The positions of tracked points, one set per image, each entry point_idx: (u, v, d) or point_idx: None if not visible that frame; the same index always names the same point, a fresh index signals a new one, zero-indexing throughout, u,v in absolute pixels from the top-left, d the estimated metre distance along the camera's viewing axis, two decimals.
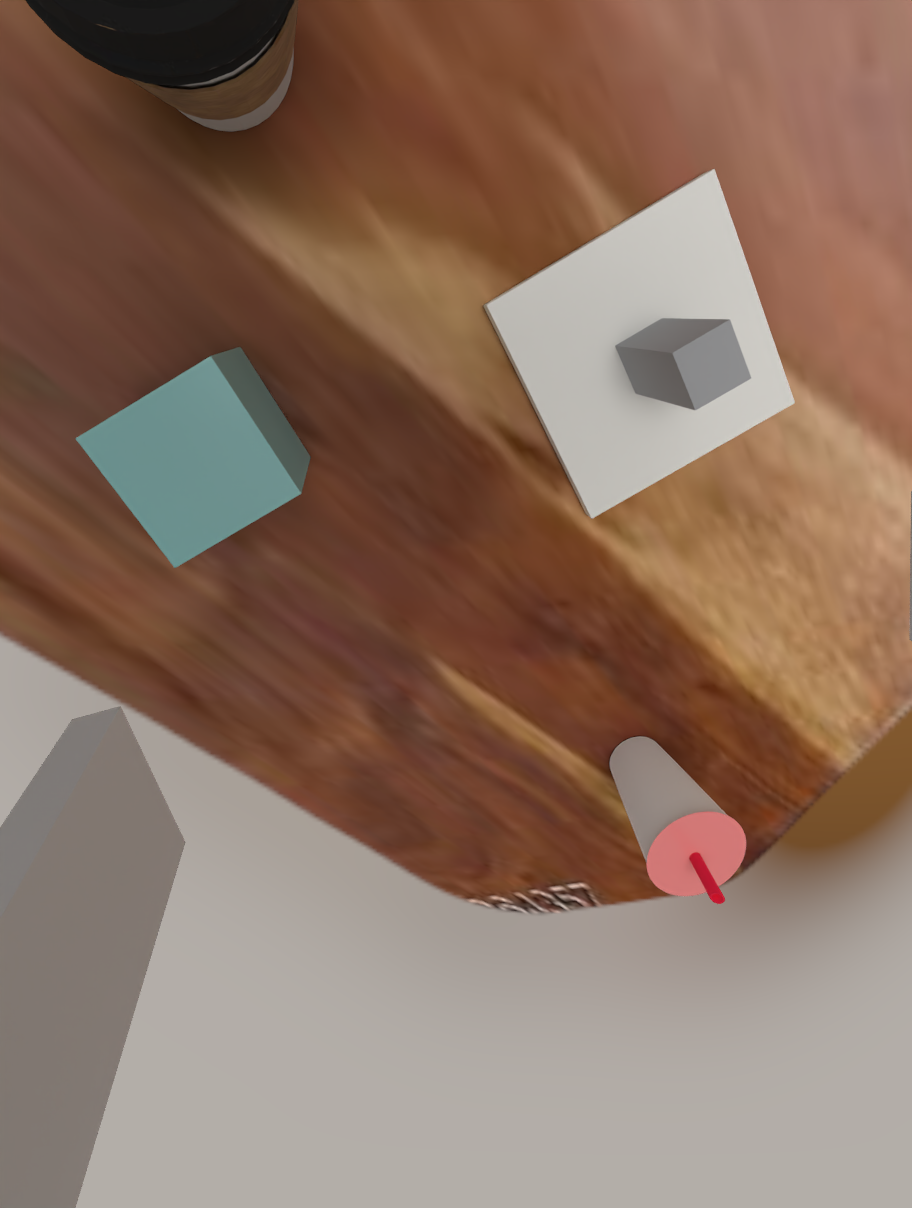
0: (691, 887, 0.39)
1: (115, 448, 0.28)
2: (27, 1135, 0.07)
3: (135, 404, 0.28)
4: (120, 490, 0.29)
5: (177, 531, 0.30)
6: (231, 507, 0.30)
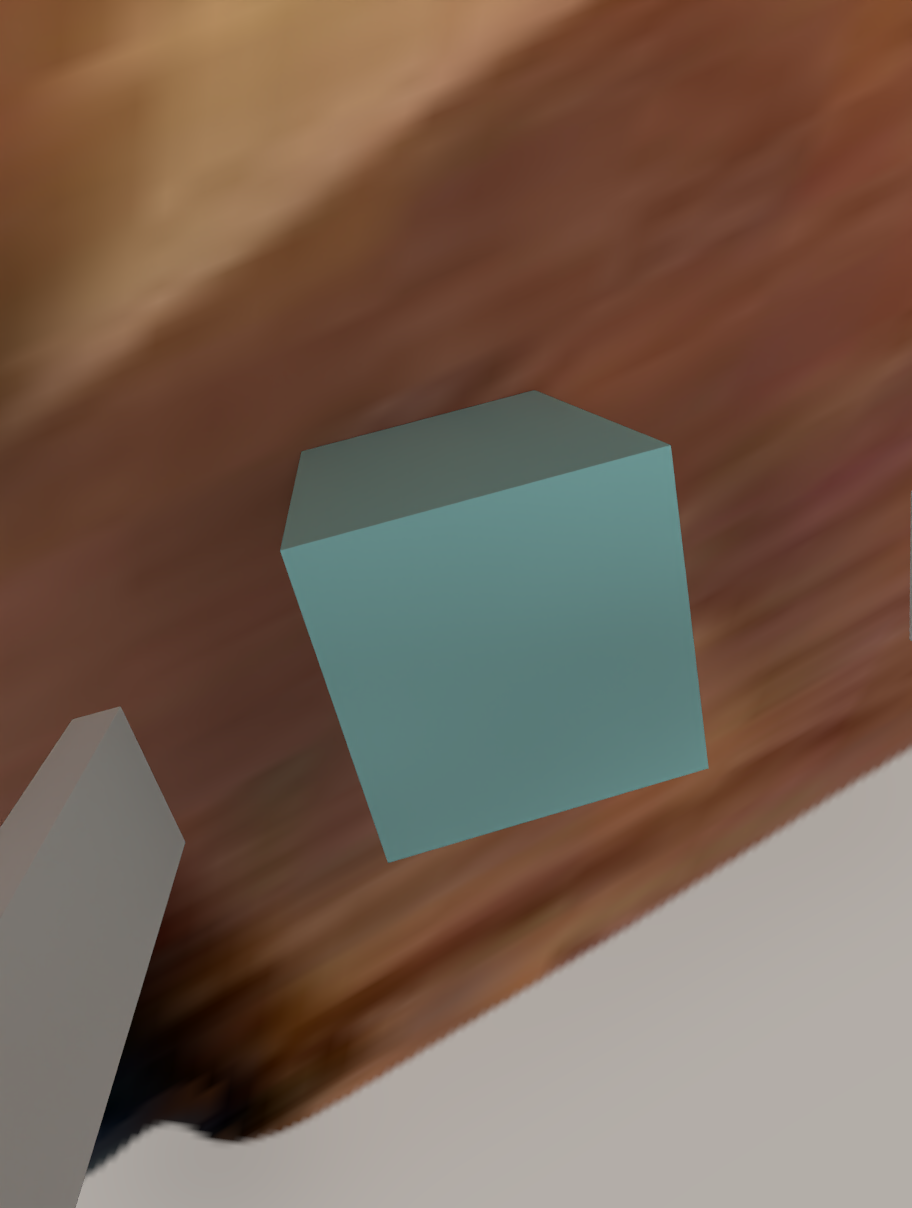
0: None
1: (429, 802, 0.13)
2: (27, 1135, 0.07)
3: (350, 739, 0.12)
4: (515, 817, 0.13)
5: (639, 741, 0.13)
6: (636, 618, 0.12)
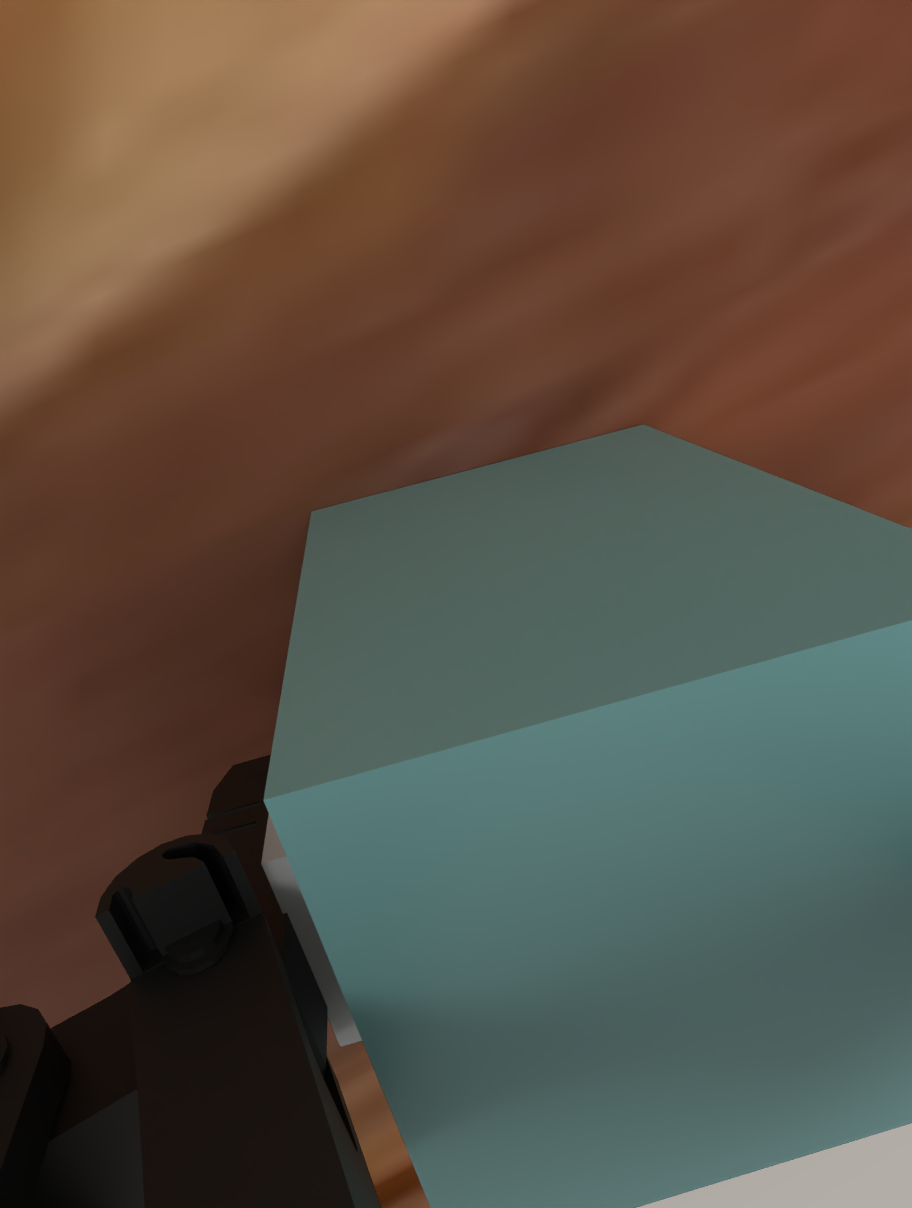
0: None
1: (530, 1176, 0.07)
2: None
3: (395, 1098, 0.07)
4: (674, 1185, 0.08)
5: (896, 1066, 0.07)
6: None
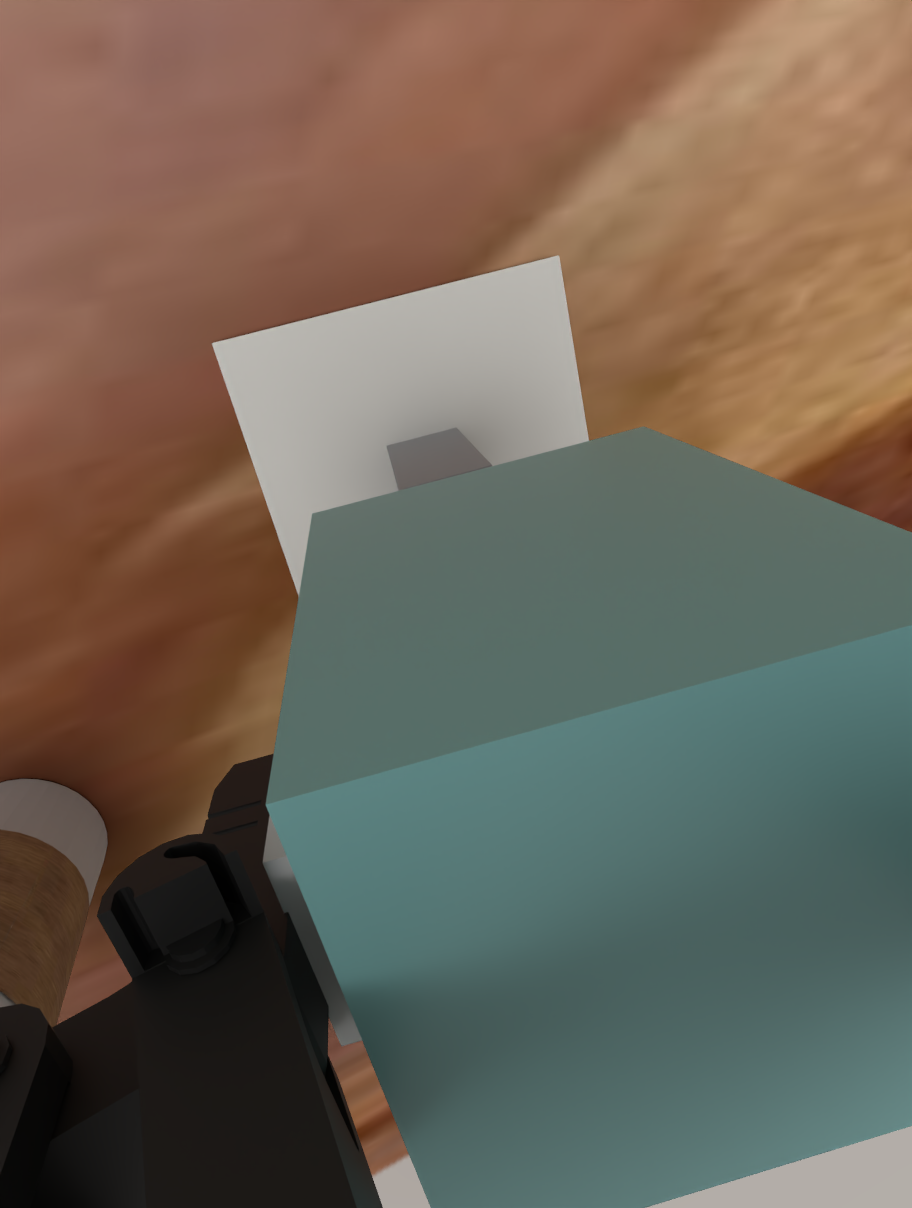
0: None
1: (531, 1179, 0.07)
2: None
3: (396, 1101, 0.07)
4: (674, 1187, 0.08)
5: (896, 1069, 0.07)
6: None
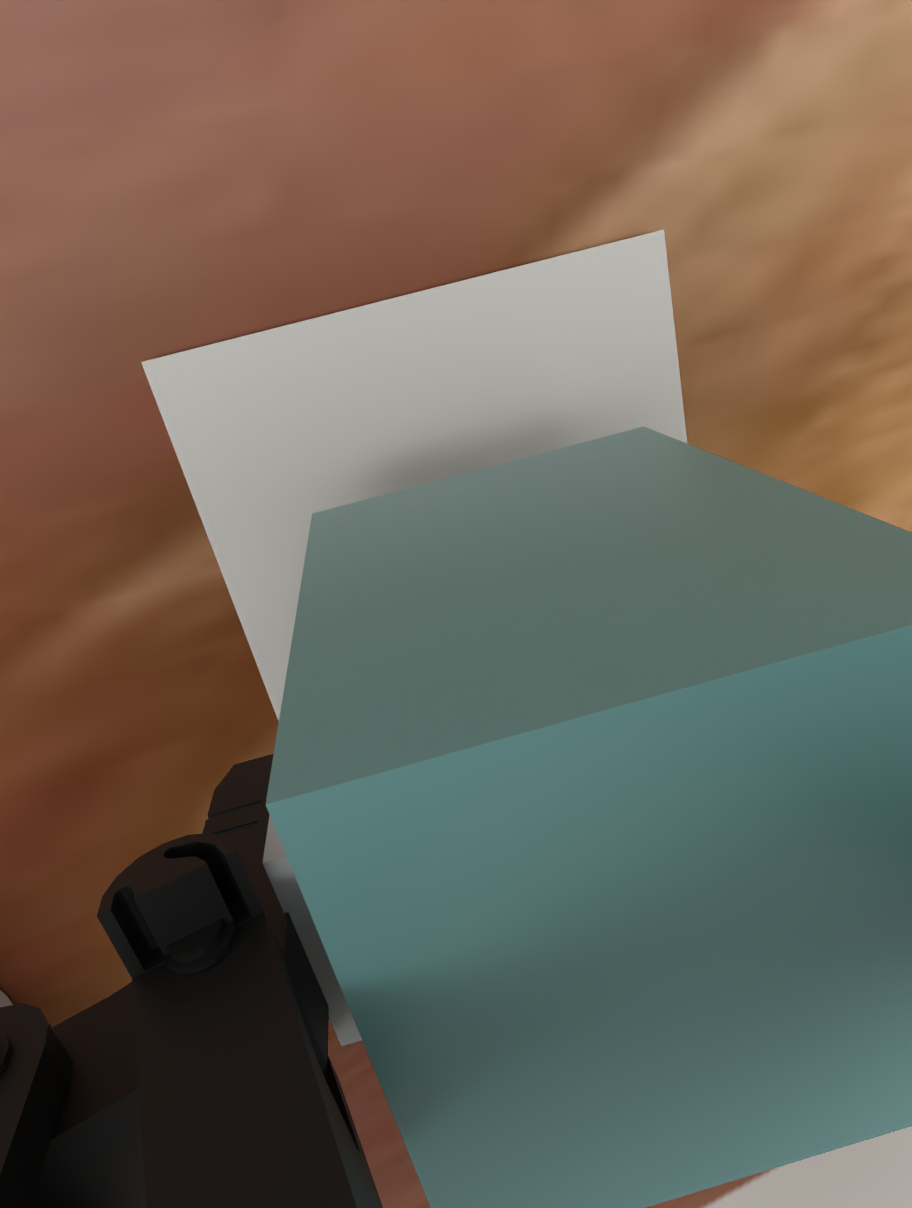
0: None
1: (531, 1179, 0.07)
2: None
3: (396, 1101, 0.07)
4: (674, 1187, 0.08)
5: (896, 1069, 0.07)
6: None
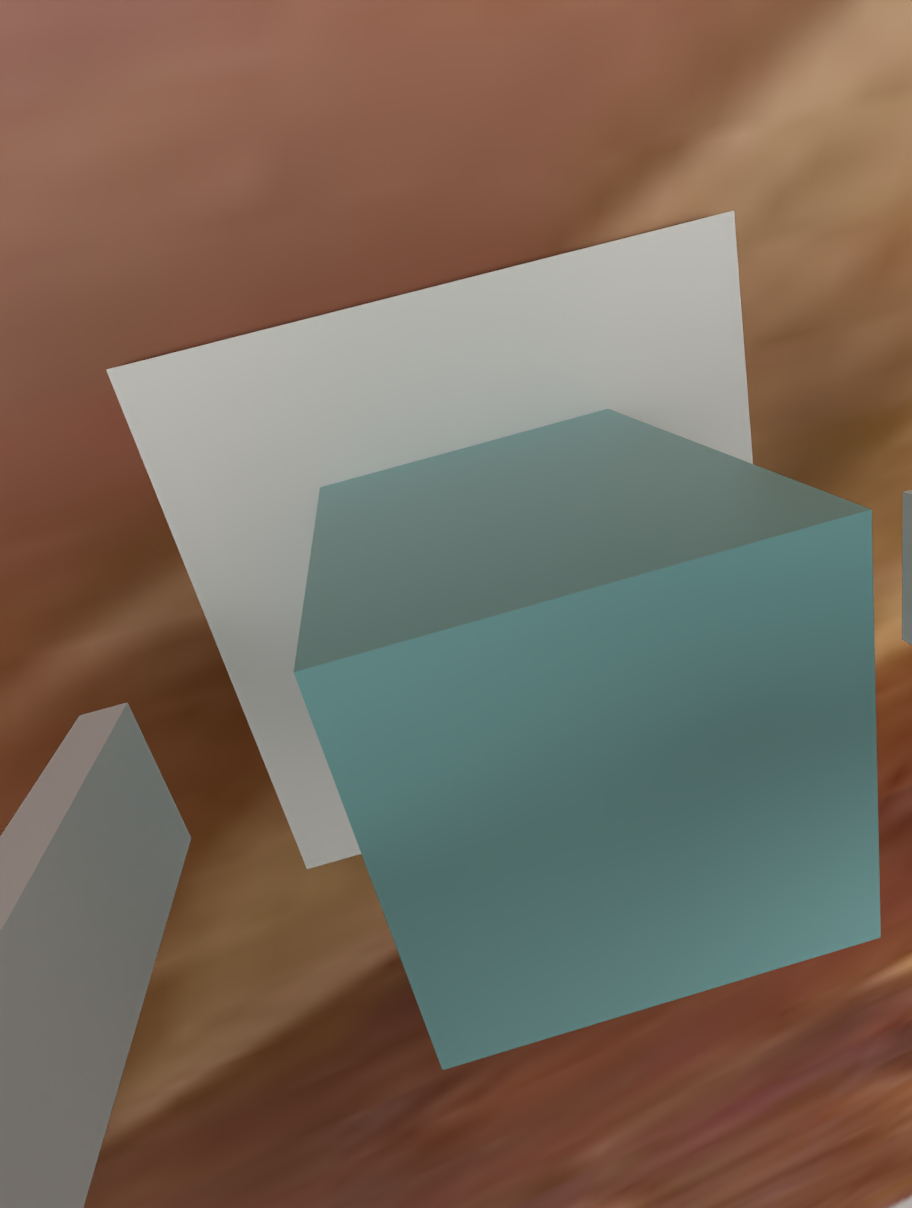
0: None
1: (501, 993, 0.09)
2: (39, 1125, 0.07)
3: (393, 920, 0.09)
4: (617, 1007, 0.10)
5: (790, 907, 0.09)
6: (800, 749, 0.09)
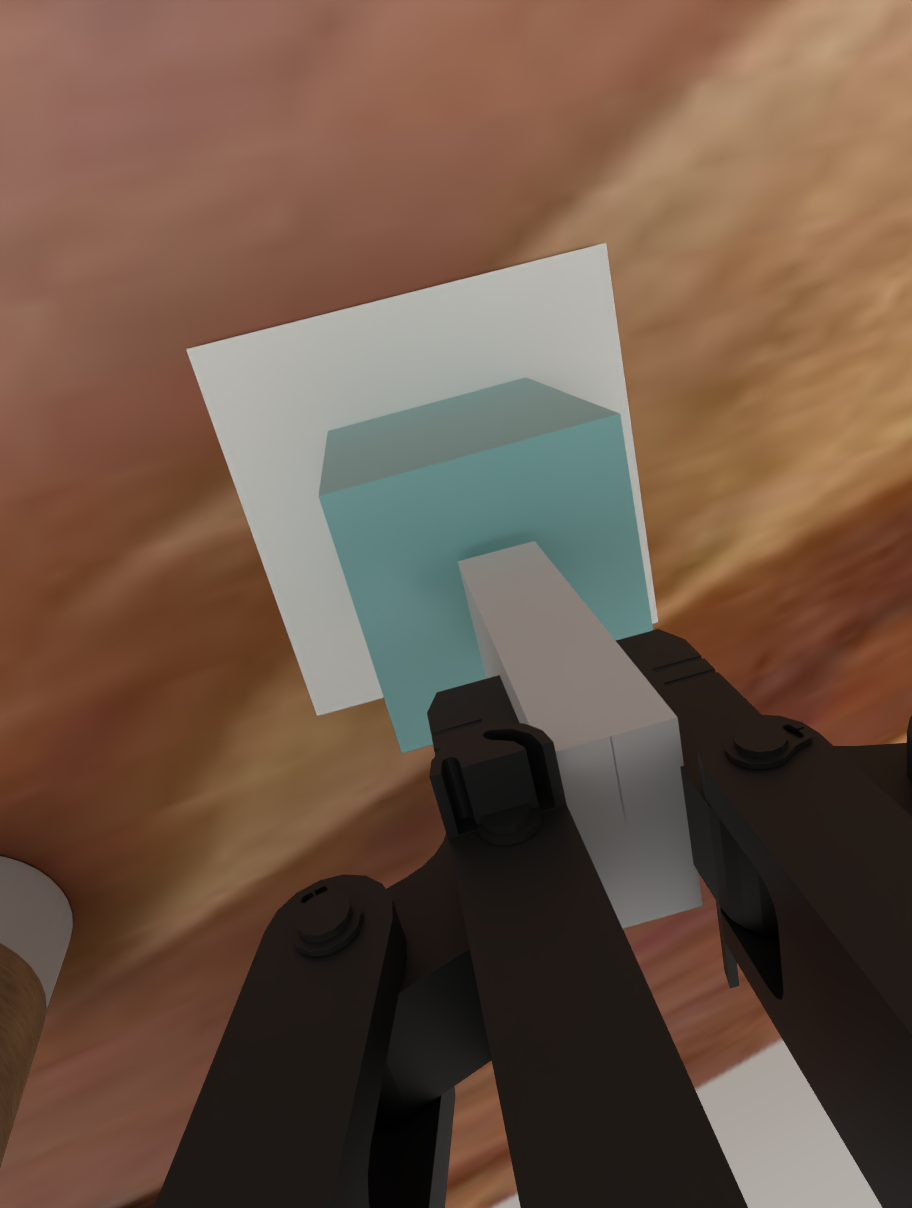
0: None
1: None
2: None
3: (372, 649, 0.15)
4: None
5: None
6: (597, 553, 0.15)
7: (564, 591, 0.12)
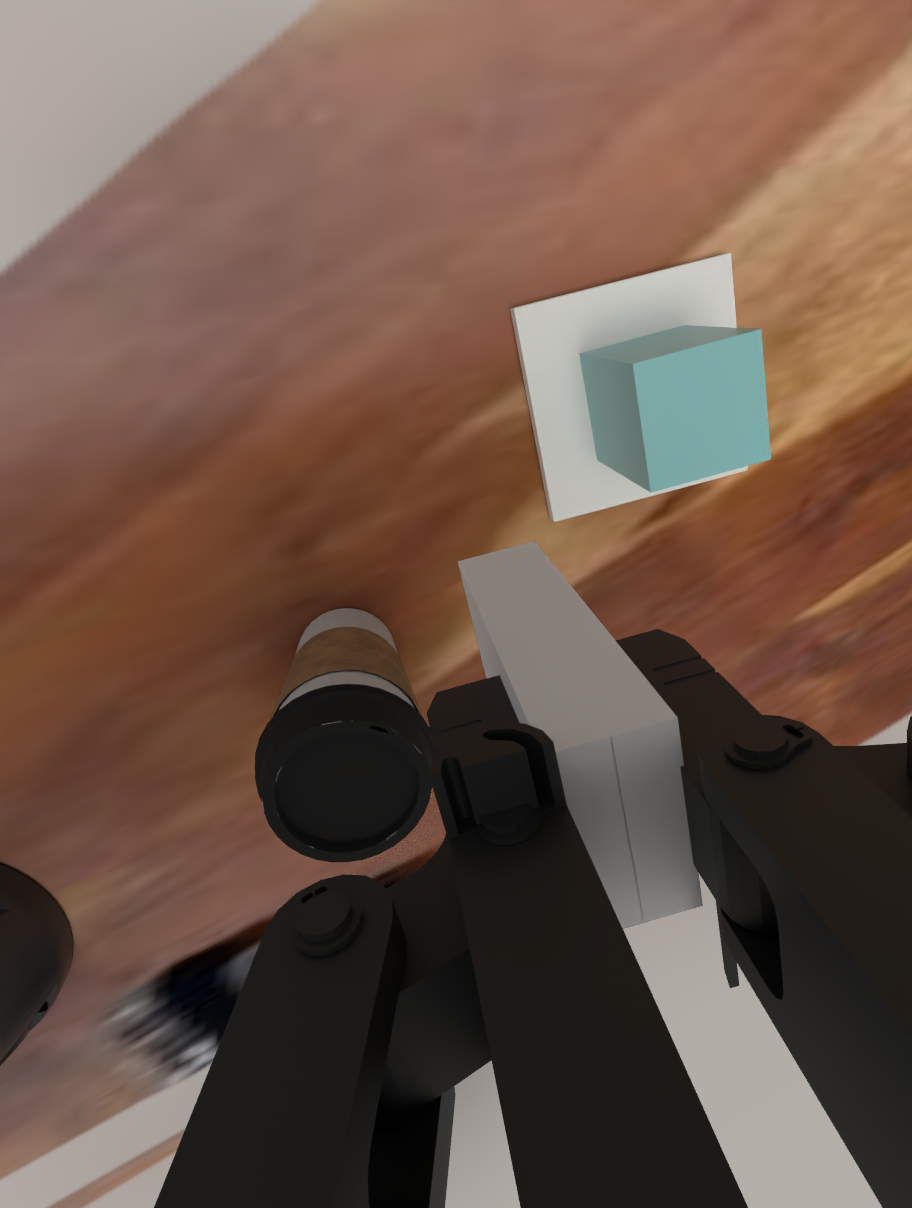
0: None
1: (668, 466, 0.35)
2: None
3: (644, 438, 0.34)
4: (698, 476, 0.35)
5: (745, 445, 0.35)
6: (747, 394, 0.34)
7: (564, 591, 0.12)
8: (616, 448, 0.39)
